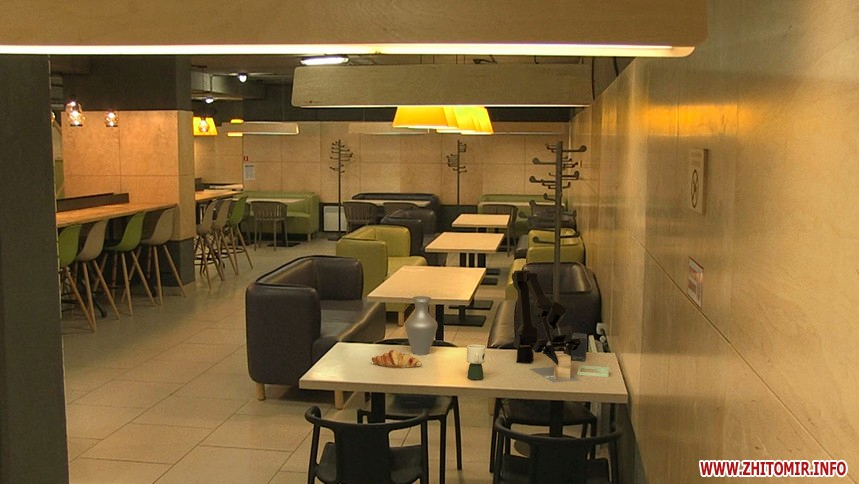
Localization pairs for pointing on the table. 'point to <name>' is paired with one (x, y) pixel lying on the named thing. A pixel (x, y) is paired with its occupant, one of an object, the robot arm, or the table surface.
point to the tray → (603, 370)
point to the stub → (562, 367)
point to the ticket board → (552, 374)
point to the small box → (580, 348)
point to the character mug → (475, 361)
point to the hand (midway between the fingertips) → (563, 363)
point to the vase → (421, 327)
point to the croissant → (396, 360)
